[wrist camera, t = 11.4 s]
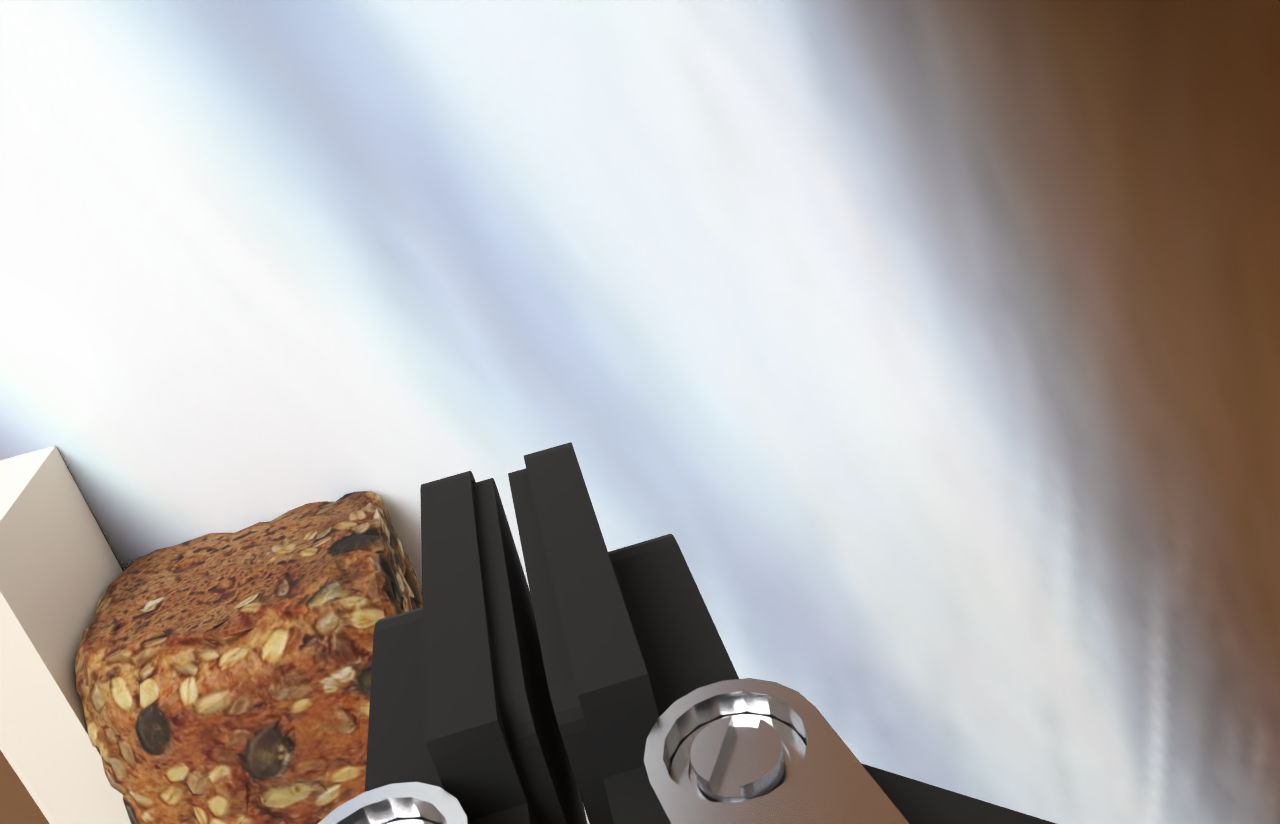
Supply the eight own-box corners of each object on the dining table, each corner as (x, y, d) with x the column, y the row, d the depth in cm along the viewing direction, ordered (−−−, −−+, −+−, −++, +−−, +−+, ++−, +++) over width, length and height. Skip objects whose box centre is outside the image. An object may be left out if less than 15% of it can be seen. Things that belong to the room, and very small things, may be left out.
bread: (522, 808, 46) (549, 1013, 37) (292, 883, 45) (263, 1113, 36) (391, 463, 38) (385, 620, 29) (106, 546, 37) (9, 735, 28)
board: (55, 445, 35) (-23, 553, 28) (330, 958, 47) (317, 1111, 41) (-19, 465, 34) (-115, 578, 28) (277, 975, 47) (256, 1132, 40)
